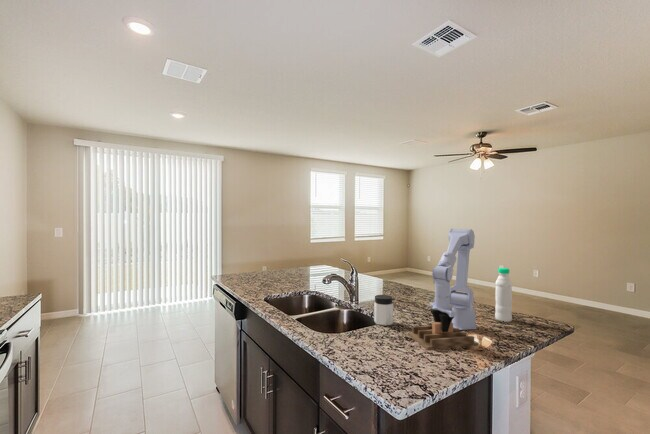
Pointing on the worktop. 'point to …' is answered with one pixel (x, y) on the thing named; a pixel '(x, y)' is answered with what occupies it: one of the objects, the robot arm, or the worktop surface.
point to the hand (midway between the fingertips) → (441, 329)
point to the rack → (440, 338)
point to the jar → (383, 310)
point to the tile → (440, 328)
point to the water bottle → (503, 296)
